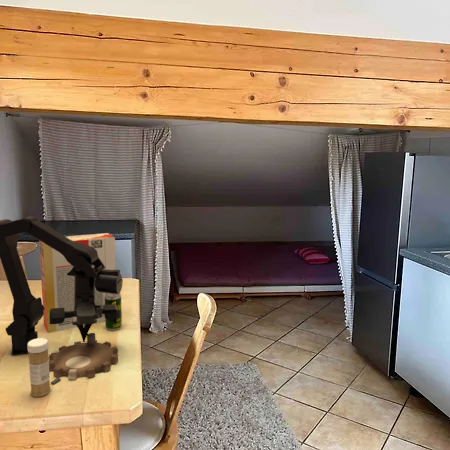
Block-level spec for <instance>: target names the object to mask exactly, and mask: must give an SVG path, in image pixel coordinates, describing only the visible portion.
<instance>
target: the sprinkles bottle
mask: <svg viewBox="0 0 450 450" xmlns="http://www.w3.org/2000/svg"><path fill="white" fill-rule="evenodd" d="M27 347H28V353H27V354H28V361H29V362H28V364H29V367H28V370H29V382H30V395H31V396H32V397H36V398H38V397H39V398H40V397H44V396H46V395H48V394H49V393H50V392H51V387H50V385H51V381H50V371H49V351H48V350H49V340H48V339H46V338H45V337H44V338H42V337H40V338H39V337H38V338H37V339H33V340H31V341H29V342H28V344H27Z"/></svg>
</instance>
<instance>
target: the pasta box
mask: <svg viewBox="0 0 450 450" xmlns="http://www.w3.org/2000/svg"><path fill="white" fill-rule="evenodd" d="M66 237H67V238H68V239H70V240H72V241H74V242H79V243H83V244H86V245H88V246H91V247H93V248H94V249H96V251H97V254H98V257H99V259H100V260H101V262H102V263H103V264H104V266H105V269H107V270H117V269H116V265H117V263H116V237H115V236H113V234H110V233H107V232H105V233H95V234H94V233H93V234H81V235H69V236H66ZM38 242H39V256H40V257H39V262H40V264H39V265H40V276H41V277H40V279H41V293H42V294H41V300H42V305H43V307H44V308H45V309H44V310H43V311H44V315H43V317H42V319H43V326H44V328H45V330H46V332H47V333H48V334H49V333H55V332H58V331H64V330H70V329H74V328H78V327H77V326H76V325H72V318H65V321H64V322H63V323H62V324H50V310H51V309H52V308H64V312H65V311H74V280H75V276H68V275H67V273H68V272H70V271H71V270H72V268H73V266H72V265H71V264H70V263H68V262H67V260H66V259H65V257H64V256H63V255H62V254H61V253H59V252H58V251H56V250H54V249H53V248H51V247H50V246H48V245H46V244H45V243H43V242H41V241H40V240H38ZM94 267H95V266H93V265H92V268H94ZM105 294H106V293H102V292H98V291H96V288H95V305H102V309H103V305H105ZM100 323H105V315H104V316H102V317H101V318H99V319H97V323H94V324H93V325H96V324H100ZM83 327H84V324H83Z"/></svg>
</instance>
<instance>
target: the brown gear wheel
mask: <svg viewBox="0 0 450 450" xmlns="http://www.w3.org/2000/svg"><path fill="white" fill-rule="evenodd" d="M73 343H74V344H71V345H68V346H67V345H62V346H59V347H58V351H57V352H51V353H50V354H48V359H49V372H50V371H53V376H54V377H56V378H61V377H62V376H66V377H68V380H77V378H78V377H85V376H86V377H87V378H88V379H89V378H90V379H91V378H94V377H96V374H97V373H100V372H103V373H107V372H108V371H110V370H112V368H111V367H112V366H111V365H112V364H114V365H116V364H118V361H119V349H118V348H117V346H113V347H112V346H111V343H112V342H109V341H105V342H98V339H97V340H96V333H95V332H88V334H87V336H86V341H85V342H82V341H79V340H78V341H75V342H73Z"/></svg>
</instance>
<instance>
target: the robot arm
mask: <svg viewBox="0 0 450 450" xmlns="http://www.w3.org/2000/svg"><path fill="white" fill-rule="evenodd" d="M22 233H26V234H29V235H30V236H32V237H33V238H35V239H37V240H38V241H39V240H40V241H41V242H43V243H45V244H46V245H48V246H50V247H51V248H53V249H54V250H56V251H58V252H59V253H61V254H62V255H63V256H64V257H65V259H66V260H67V262H68V263H70V264H71V265H72V266H73V268H72V270H71V271H70V272H68V273H67V275H68V276H75V280H74V311H65V312H64V308H52V309H51V310H50V324H62V323H63V322H64V321H65V318H72V325H76V326H77V327H76V328H77V329H78V331H79V334H80V336H81V339H82V343H85V342H86V340H87V334H89V332H90V329H91V327H92V326H93V325H95V324H94V323H96V324H98V323H97V319H99V318H101V317H102V316H104V315H105V318H106V319H107V320H115V319H118V309H117V307H116V305H115V304H113V305H103V309H102V305H95V288H96V291H98V292H102V293H114V294H119V293H120V294H121V292H122V290H123V289H122V288H123V277H122V274H121V269H116V270H107V269H105V266H104V264H103V263H102V262H101V260H100V259H99V257H98V254H97V251H96V249H94V248H93V247H91V246H88V245H86V244H83V243H79V242H74V241H72V240H70V239H68V238H67V236H65V235H63V234H62V233H60V232H58V231H56V230H55V229H53V228H51V227H50V226H49V225H47V224H45V223H43V222H42V221H40V220H39V219H38V218H37V217H35V216H32V215H31V216H27V217H24V218H19V219H15V220H11V219H8V218H3V219H0V262H1V265H2V268H3V271H4V274H5V277H6V280H7V284H8V287H9V289H10V292H11V296H12V299H13V304H12V310H11V312H12V319H13V321H12V322H11V323H10V324H9V325H7V327H6V328H5V332H6V334H7V336H8V337H9V336H10V338H11V356H16V355H23V354H24V355H26V354H29V353H28V347H27V344H28V342H29V341H31V340H33V339H37V338H39V337H38V331H37V330H36V326H38V323H39V321H41V320H42V319H43V315H44V311H43V310H44V309H45V308H44V307H43V301H42V296H41V297H39V296H38V297H36V296H34V295H33V293H32V292H31V288H30V286H29V285H30V284H29V282H28V279H27V276H26V272H25V270H24V267H23V265H22V260H21V258H20V254H19V251H18V242H19V234H22ZM92 265H93V266H95V267H94V268H92ZM83 324H84V326H83Z"/></svg>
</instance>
